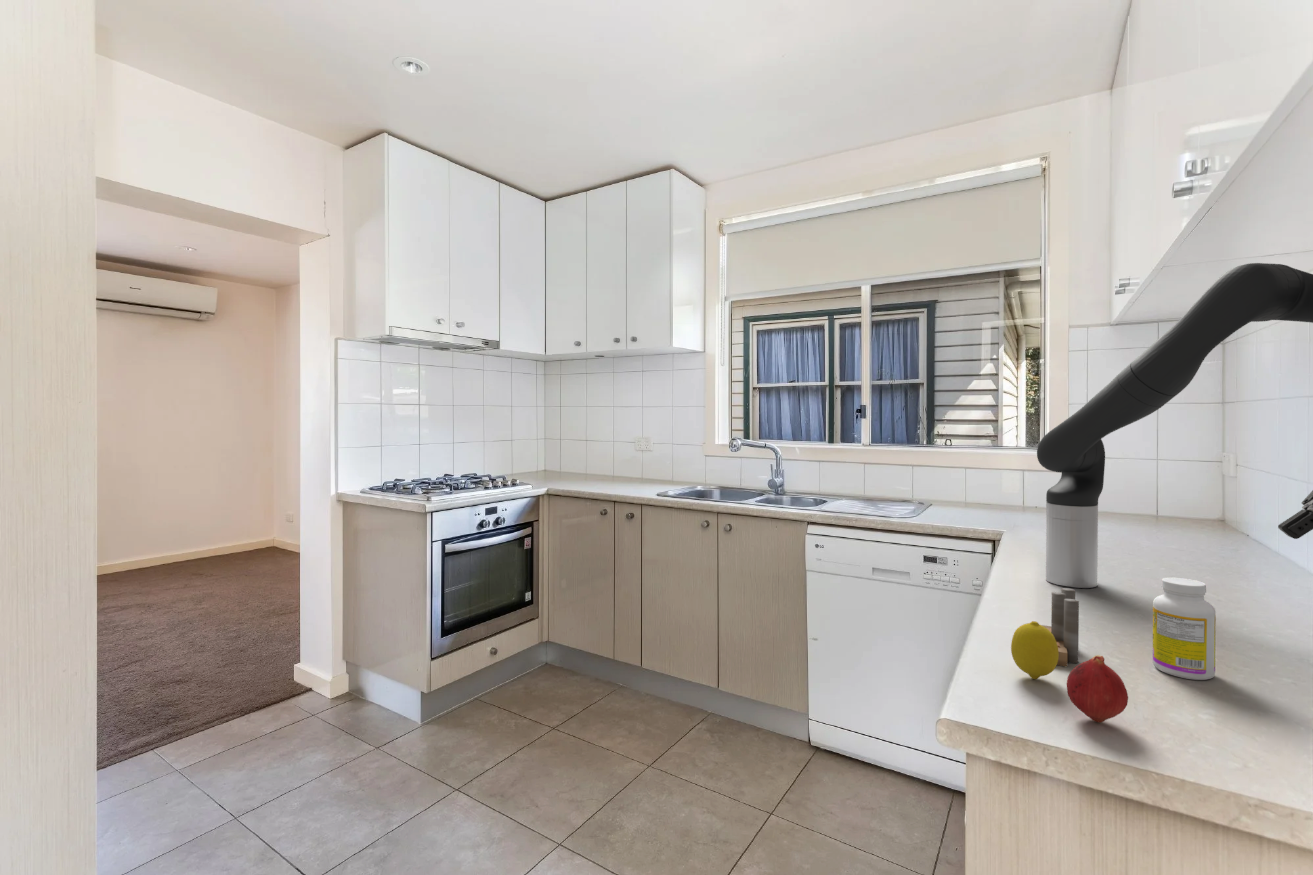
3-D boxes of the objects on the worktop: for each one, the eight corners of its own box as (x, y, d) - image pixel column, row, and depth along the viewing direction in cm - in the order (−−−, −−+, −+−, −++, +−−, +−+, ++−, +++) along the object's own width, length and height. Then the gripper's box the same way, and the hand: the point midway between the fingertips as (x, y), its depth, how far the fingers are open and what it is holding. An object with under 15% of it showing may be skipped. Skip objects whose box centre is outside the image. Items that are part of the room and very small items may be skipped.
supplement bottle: (1174, 660, 88) (1175, 573, 88) (1227, 678, 82) (1229, 585, 82) (1140, 665, 87) (1141, 577, 86) (1191, 684, 80) (1192, 589, 80)
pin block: (1029, 635, 99) (1030, 581, 99) (1073, 641, 96) (1073, 586, 96) (1031, 660, 89) (1031, 600, 88) (1080, 668, 86) (1080, 606, 85)
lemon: (1047, 672, 85) (1048, 616, 84) (1065, 689, 79) (1066, 629, 79) (1004, 669, 86) (1005, 613, 86) (1019, 685, 80) (1020, 627, 80)
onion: (1067, 725, 70) (1068, 658, 70) (1064, 705, 75) (1065, 642, 75) (1130, 739, 67) (1131, 668, 67) (1123, 717, 72) (1124, 651, 72)
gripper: (1365, 425, 84) (1244, 507, 90) (1419, 426, 72) (1277, 519, 79) (1421, 464, 81) (1293, 545, 88) (1487, 471, 70) (1334, 564, 76)
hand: (1285, 533), depth 83 cm, fingers closed
